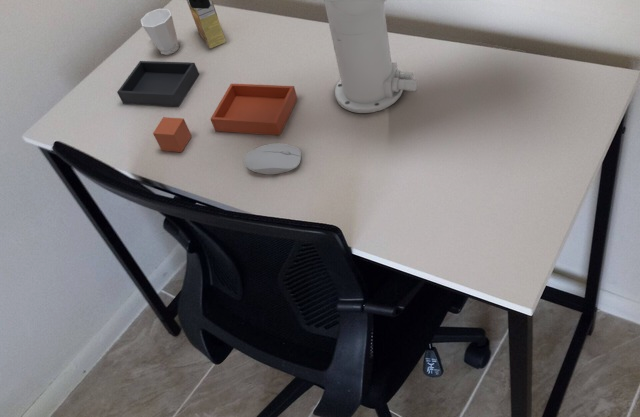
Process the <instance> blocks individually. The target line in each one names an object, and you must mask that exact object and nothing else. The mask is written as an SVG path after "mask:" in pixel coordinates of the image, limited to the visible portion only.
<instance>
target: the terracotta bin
mask: <svg viewBox="0 0 640 417" xmlns="http://www.w3.org/2000/svg"><path fill="white" fill-rule="evenodd" d="M229 84H230V85H229V86H228V88H227V89H226V91H225V93H224V94H223V96H222V98H221V99H220V101H219V103H218V105H217V107H216V108H215V110H214V112H213V113H212V115H211V117H210V122H211V124H212V127H213V129H214V131H215V132H225V133H238V134H253V135H269V136H280V135H281V134H282V132H283V130H284V127H285V125H286V123H287V121H288V119H289V117H290V115H291V113H292V111H293V109H294V107H295V105H296V102H297V100H298V95H297V92H296V89H295V85H279V84H278V85H277V84H275V85H274V84H254V83H253V84H252V83H229Z"/></svg>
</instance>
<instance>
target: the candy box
mask: <svg viewBox="0 0 640 417" xmlns="http://www.w3.org/2000/svg"><path fill="white" fill-rule="evenodd" d="M209 1H210V5H211V6H210V7H209V8H208V9H202V8H192V7H191V5H190V3H189V0H186V3H187V5H188V8H189V10H190V13H191V15H192V19H193V21H194V24H195V26H196V30H197V31H198V34H200V37H201V38H202V39H203V41H204V42H205V44H206V45H207V46H208V48H209V49H210V50H212V49H214V48H215V47H217V46H220V45H223V44H225V43H226V42H227V41H226V38H225V35H224V31H223V29H222V24H221V23H220V20H219V17H218V14H217V11H216V7H215V5H214V2H213V0H209Z"/></svg>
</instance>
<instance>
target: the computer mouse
mask: <svg viewBox="0 0 640 417" xmlns="http://www.w3.org/2000/svg"><path fill="white" fill-rule="evenodd" d="M301 160H302V152H301V150H300V148H298V147H297V146H294V145H291V144H287V143H281V142H280V143H278V142H277V143H275V142H273V143H268V144H264V145H261V146H257V147H255V148H253V149H252V150H250V151H248V152H247V153H246V154H245V155H244V156H243V164H244V166H245V167H246V168H247V169H248V170H250V171H252V172H254V173H257V174H261V175H277V174H284V173H287V172H290V171H292V170H294V169H295V170H296V168H297V167H299V165H300V163H301Z"/></svg>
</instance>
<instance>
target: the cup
mask: <svg viewBox="0 0 640 417" xmlns="http://www.w3.org/2000/svg"><path fill="white" fill-rule="evenodd" d="M140 23H141V26H142V28H143V29H144V31H145V33H146V34H147V35H148V37H149V38H150V40H151V41H152V43H153V44H154V45H155V47H156V48H157V50H158V51H160V54H161V55H164V56H169V55H171V54H174V53H176V52H177V50H178V49H179V48H180V47H179V44H178V36H177V35H178V34H177V32H176V28H175V23H174V19H173V15H172V13H171V11H170V9H169V8H157V9H154V10H150V11H149V12H146V13H145V15H144V16H142V18H141V19H140Z"/></svg>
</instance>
